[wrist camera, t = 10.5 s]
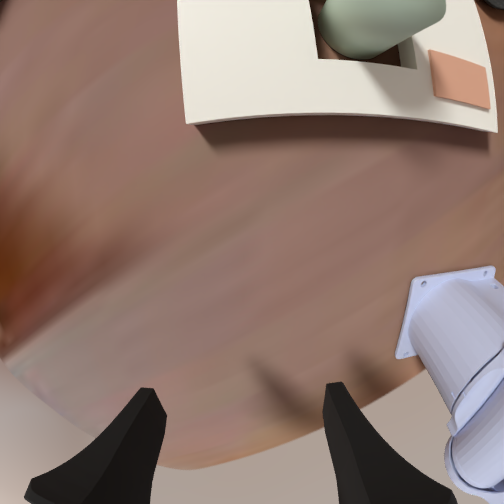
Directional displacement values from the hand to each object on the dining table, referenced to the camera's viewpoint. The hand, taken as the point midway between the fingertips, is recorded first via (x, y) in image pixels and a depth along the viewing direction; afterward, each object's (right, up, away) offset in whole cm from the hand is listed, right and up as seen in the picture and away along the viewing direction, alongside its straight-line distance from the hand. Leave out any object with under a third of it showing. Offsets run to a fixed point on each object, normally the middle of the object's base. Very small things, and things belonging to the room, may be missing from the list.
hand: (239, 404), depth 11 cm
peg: (+7, +20, +2) cm, 21 cm away
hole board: (+7, +20, +2) cm, 21 cm away
